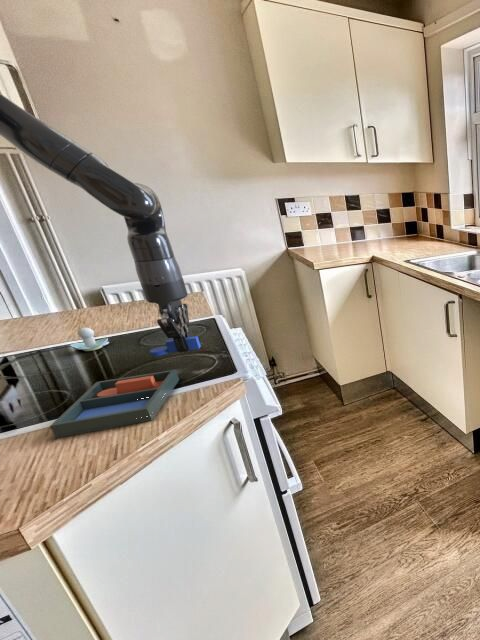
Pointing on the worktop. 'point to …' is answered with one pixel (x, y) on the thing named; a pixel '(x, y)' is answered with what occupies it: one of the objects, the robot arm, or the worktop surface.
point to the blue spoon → (170, 346)
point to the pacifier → (89, 340)
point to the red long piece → (130, 386)
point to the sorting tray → (114, 406)
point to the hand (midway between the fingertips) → (185, 349)
